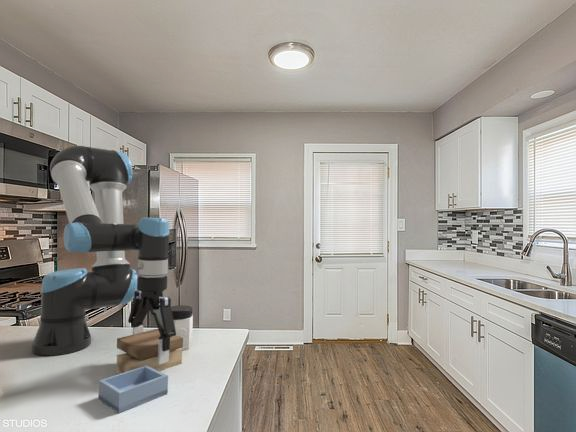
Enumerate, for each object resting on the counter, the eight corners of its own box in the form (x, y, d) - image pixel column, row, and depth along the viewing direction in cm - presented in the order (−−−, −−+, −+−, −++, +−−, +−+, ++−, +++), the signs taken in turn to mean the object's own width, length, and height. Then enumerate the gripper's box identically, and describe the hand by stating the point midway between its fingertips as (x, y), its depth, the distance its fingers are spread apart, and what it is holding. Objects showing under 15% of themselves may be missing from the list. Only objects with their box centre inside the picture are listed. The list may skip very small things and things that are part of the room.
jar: (166, 353, 104) (167, 312, 104) (159, 345, 111) (160, 307, 111) (196, 348, 109) (197, 309, 109) (188, 340, 116) (189, 304, 116)
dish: (98, 399, 76) (99, 380, 77) (146, 382, 85) (146, 365, 85) (118, 413, 71) (119, 393, 71) (167, 393, 80) (168, 375, 80)
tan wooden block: (116, 371, 91) (117, 355, 91) (165, 356, 102) (165, 342, 102) (132, 380, 86) (133, 363, 86) (181, 363, 97) (182, 348, 97)
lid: (116, 348, 94) (117, 338, 94) (157, 337, 103) (158, 328, 103) (140, 360, 86) (141, 349, 86) (182, 347, 96) (183, 338, 96)
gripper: (116, 271, 99) (113, 348, 99) (166, 282, 84) (162, 373, 84) (142, 269, 105) (139, 342, 105) (192, 279, 90) (189, 364, 90)
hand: (149, 356), depth 95 cm, fingers closed on lid, 12 cm apart
